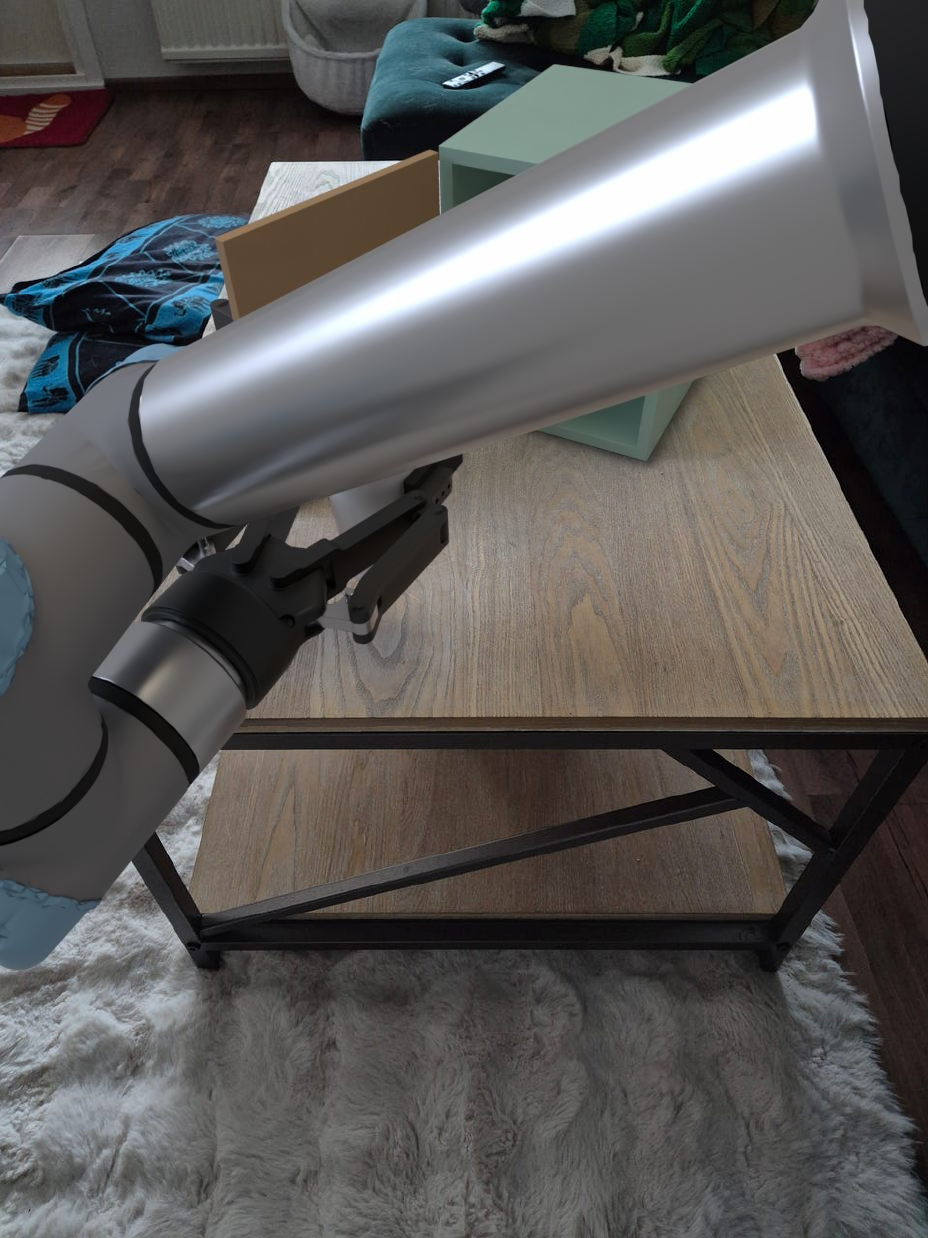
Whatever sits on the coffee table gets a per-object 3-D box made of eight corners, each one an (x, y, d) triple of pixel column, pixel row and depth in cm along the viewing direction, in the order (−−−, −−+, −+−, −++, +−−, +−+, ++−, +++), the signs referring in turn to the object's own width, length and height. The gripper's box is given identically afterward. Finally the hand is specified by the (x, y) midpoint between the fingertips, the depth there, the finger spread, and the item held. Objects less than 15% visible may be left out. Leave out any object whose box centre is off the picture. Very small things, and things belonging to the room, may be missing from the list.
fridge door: (237, 483, 78) (168, 215, 60) (401, 385, 89) (383, 133, 71) (282, 513, 75) (223, 241, 58) (445, 408, 86) (438, 151, 68)
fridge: (646, 461, 80) (697, 191, 62) (445, 404, 87) (438, 145, 69) (716, 342, 95) (774, 94, 76) (539, 300, 101) (553, 63, 83)
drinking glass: (420, 601, 58) (405, 412, 47) (324, 591, 59) (286, 403, 48) (438, 534, 62) (427, 348, 51) (348, 526, 63) (319, 341, 52)
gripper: (78, 652, 50) (301, 438, 63) (361, 779, 44) (539, 513, 57) (27, 558, 44) (283, 347, 58) (343, 689, 38) (546, 419, 52)
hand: (410, 430), depth 58 cm, fingers closed on drinking glass, 6 cm apart
